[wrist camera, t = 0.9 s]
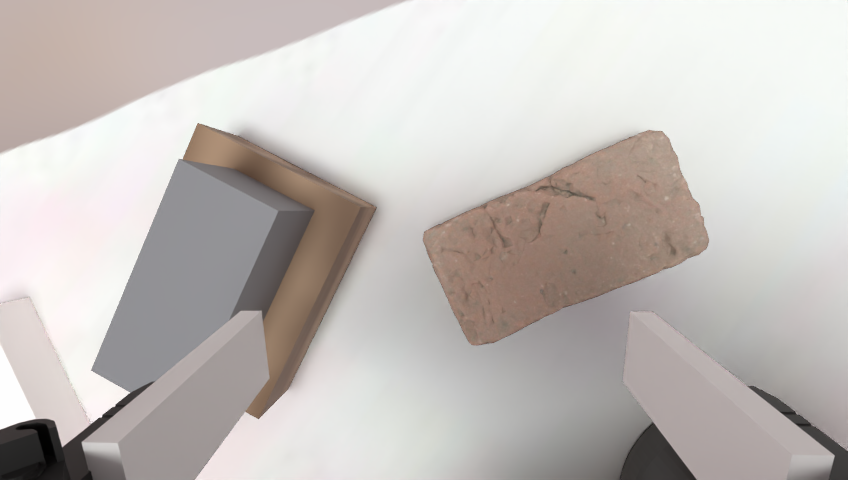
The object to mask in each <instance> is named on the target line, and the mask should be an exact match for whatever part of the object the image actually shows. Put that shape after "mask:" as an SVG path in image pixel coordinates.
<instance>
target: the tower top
mask: <svg viewBox="0 0 848 480" xmlns="http://www.w3.org/2000/svg"><path fill="white" fill-rule="evenodd" d="M314 211H315V210H313V209H311V208H309V207H307V206H305V205H303V204H301V203H299V202H297V201H295V200H293V199H292V198H290V197H288V196H286V195H284V194H282V193H280V192H278V191H276V190H274V189H272V188H270V187H268V186H266V185H264V184H263V183H261V182H259V181H257V180H255V179H253V178H251V177H249V176H247V175H245V174H243V173H241V172H239V171H237V170H235V169H233V168H227V167H222V166H216V165H210V164H205V163H199V162H193V161H187V160H182V159H179V160H178V162H177V165H176V167H175V170H174V172H173V174H172V177H171V179H170V182H169V184H168V186H167V189H166V191H165V194H164V196H163V199H162V201H161V203H160V206H159V208H158V211H157V213H156V215H155V218H154V220H153V223H152V225H151V227H150V230H149V232H148V235H147V237H146V239H145V242H144V244H143V247H142V249H141V252H140V254H139V256H138V259H137V261H136V264H135V266H134V268H133V271H132V273H131V276H130V278H129V280H128V283H127V285H126V288H125V290H124V292H123V295H122V297H121V300H120V302H119V305H118V307H117V309H116V312H115V314H114V317H113V319H112V321H111V324H110V326H109V329H108V331H107V333H106V336H105V338H104V341H103V343H102V345H101V348H100V350H99V353H98V355H97V358H96V360H95V362H94V365H93V367H92V370H91V371H93V372H95V373H97V374H98V375H100V376H102V377H104V378H106V379H107V380H109V381H111V382H113V383H114V384H116V385H118V386H120V387H122V388H123V389H125V390H127V391H129V392H130V393H131V392H133V391H135V390H136V389H138V388H140V387H142V386H144V385H146V384H148V383H150V382H152V381H154V382H155V381H156V380H158V379H159V378H160V377H161V376H162V375H164V374H165V373H166V372H167V371H169V370H170V369H171V368H172V367H173V366H175V365H176V364H177V363H178V362H179V361H181V360H182V359H183V358H184V357H186V356H187V355H188V354H189V353H190V352H192V351H193V350H194V349H195V348H196V347H198V346H199V345H200V344H201V343H202V342H204V341H205V340H206V339H207V338H209V337H210V336H211V335H212V334H213V333H215V332H216V331H217V330H218V329H219V328H221V327H222V326H223V325H224V324H225V323H227V322H228V321H229V320H230V319H232V318H233V317H234V316H235V315H236V314H238V313H239V312H240V311H262V319H263V321H264V319H265V316H266V314H267V312H268V310H269V308H270V306H271V304H272V301H273V299H274V297H275V295H276V293H277V291H278V289H279V286H280V284H281V282H282V280H283V278H284V276H285V274H286V271H287V269H288V267H289V265H290V263H291V261H292V258H293V256H294V254H295V252H296V250H297V248H298V246H299V243H300V241H301V239H302V237H303V235H304V233H305V231H306V228H307V226H308V224H309V222H310V220H311V218H312V216H313V213H314Z"/></svg>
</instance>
